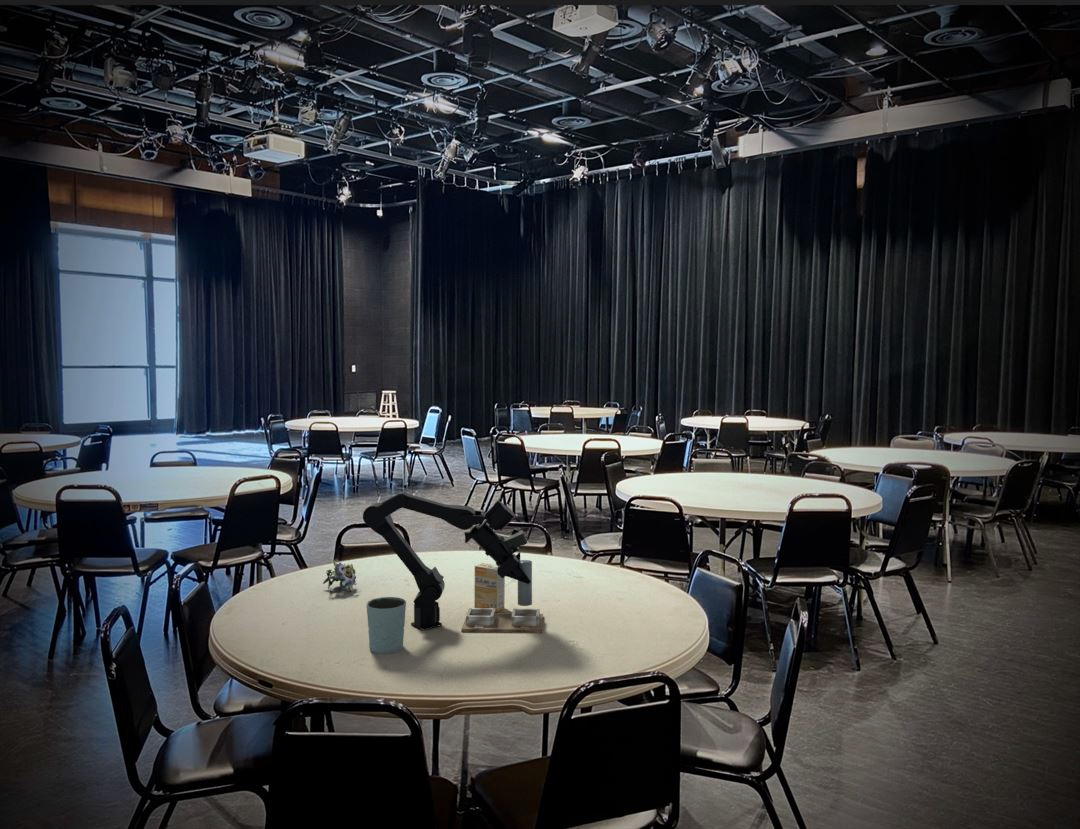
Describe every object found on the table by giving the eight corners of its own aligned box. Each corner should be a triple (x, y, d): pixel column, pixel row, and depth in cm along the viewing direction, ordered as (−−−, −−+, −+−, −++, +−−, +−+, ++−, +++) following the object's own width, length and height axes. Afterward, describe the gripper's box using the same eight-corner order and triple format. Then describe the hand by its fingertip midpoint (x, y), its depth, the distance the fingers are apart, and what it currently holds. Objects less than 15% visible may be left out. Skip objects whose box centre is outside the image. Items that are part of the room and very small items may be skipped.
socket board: (461, 631, 216) (461, 619, 216) (467, 616, 230) (467, 604, 230) (541, 632, 216) (541, 620, 216) (542, 616, 230) (542, 605, 230)
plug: (528, 606, 219) (528, 563, 219) (515, 605, 221) (515, 562, 220) (534, 602, 223) (533, 560, 222) (520, 601, 224) (520, 559, 224)
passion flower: (350, 607, 257) (350, 584, 250) (317, 601, 257) (316, 577, 250) (360, 580, 266) (360, 557, 258) (329, 574, 266) (328, 551, 258)
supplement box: (473, 608, 238) (473, 565, 237) (482, 604, 242) (481, 562, 241) (497, 612, 234) (497, 569, 233) (505, 608, 238) (505, 565, 237)
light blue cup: (389, 638, 211) (388, 594, 210) (414, 647, 205) (414, 601, 204) (358, 649, 203) (358, 603, 203) (384, 658, 197) (383, 610, 196)
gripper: (509, 528, 211) (550, 568, 212) (511, 515, 230) (549, 552, 231) (480, 557, 212) (521, 597, 212) (484, 542, 230) (522, 579, 231)
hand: (529, 580), depth 221 cm, fingers closed on plug, 4 cm apart
